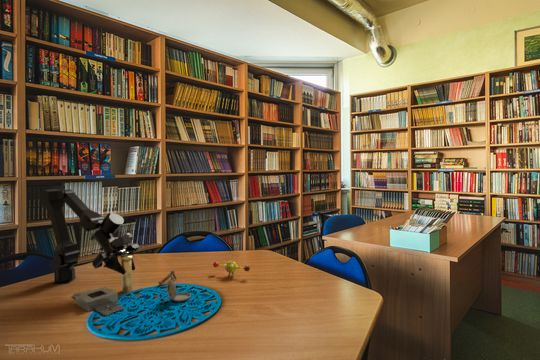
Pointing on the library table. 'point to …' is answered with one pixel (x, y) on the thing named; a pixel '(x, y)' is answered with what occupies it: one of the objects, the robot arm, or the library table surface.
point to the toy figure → (231, 267)
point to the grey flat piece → (98, 300)
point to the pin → (126, 273)
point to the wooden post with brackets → (167, 277)
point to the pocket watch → (172, 292)
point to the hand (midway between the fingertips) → (129, 271)
